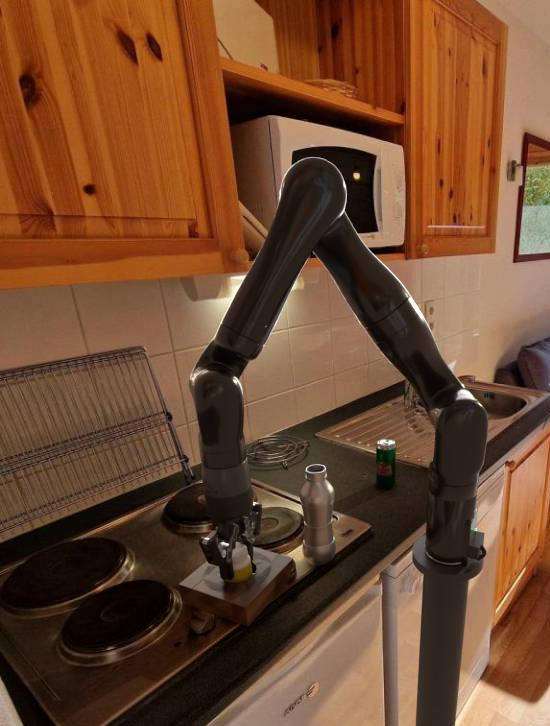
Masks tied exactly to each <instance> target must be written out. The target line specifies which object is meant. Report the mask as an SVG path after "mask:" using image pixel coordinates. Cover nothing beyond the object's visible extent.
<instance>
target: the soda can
mask: <svg viewBox="0 0 550 726" xmlns="http://www.w3.org/2000/svg"><path fill="white" fill-rule="evenodd" d="M396 477H397V444H396V442H395V440H394V439H390V438H382V439H379V440H378V441H377V443H376V446H375V484H376V486H377V487H378V488H380V489H384V490H385V489H391V488H393V487H394V486H395V485H396V483H397V481H396V480H397V478H396Z"/></svg>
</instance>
